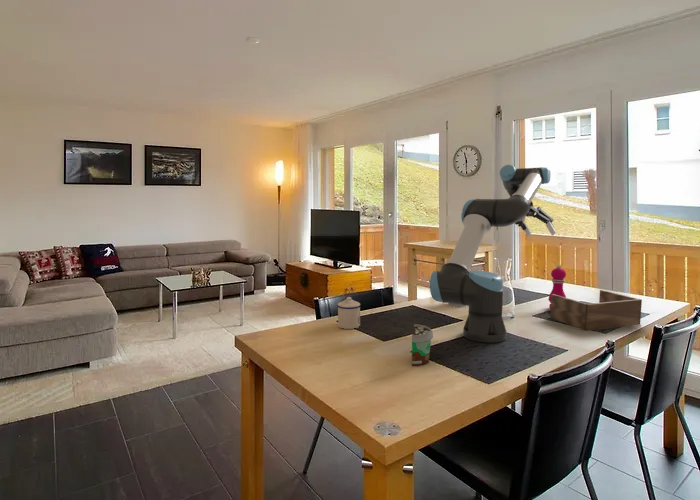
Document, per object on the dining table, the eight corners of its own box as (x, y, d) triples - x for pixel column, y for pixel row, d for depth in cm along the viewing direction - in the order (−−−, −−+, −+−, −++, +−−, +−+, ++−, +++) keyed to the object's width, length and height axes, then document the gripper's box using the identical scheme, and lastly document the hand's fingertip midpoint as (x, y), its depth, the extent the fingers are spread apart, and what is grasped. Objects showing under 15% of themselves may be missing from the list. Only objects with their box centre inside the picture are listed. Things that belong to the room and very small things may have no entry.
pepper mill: (566, 308, 199) (569, 264, 197) (564, 311, 193) (566, 266, 191) (549, 306, 203) (551, 263, 201) (546, 309, 197) (548, 265, 195)
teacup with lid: (364, 328, 172) (363, 299, 170) (341, 330, 169) (341, 301, 168) (353, 320, 183) (353, 292, 182) (332, 322, 180) (332, 294, 179)
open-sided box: (550, 317, 184) (551, 294, 183) (600, 312, 191) (601, 289, 190) (586, 330, 166) (587, 304, 165) (640, 324, 173) (641, 299, 172)
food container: (432, 369, 131) (432, 336, 129) (411, 368, 132) (411, 335, 131) (433, 354, 143) (433, 324, 141) (413, 353, 144) (414, 323, 143)
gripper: (539, 206, 224) (559, 238, 212) (496, 207, 217) (515, 240, 205) (547, 195, 219) (568, 228, 206) (503, 196, 212) (523, 229, 199)
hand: (542, 234), depth 205 cm, fingers open, 13 cm apart
